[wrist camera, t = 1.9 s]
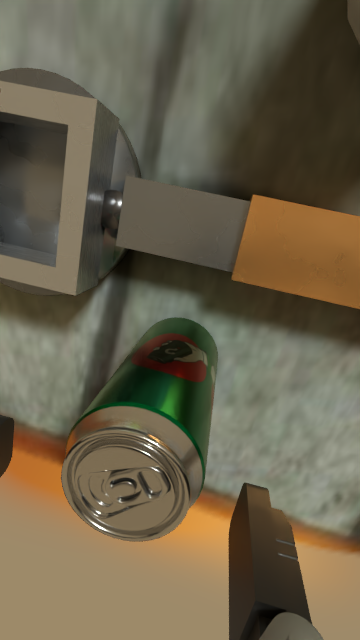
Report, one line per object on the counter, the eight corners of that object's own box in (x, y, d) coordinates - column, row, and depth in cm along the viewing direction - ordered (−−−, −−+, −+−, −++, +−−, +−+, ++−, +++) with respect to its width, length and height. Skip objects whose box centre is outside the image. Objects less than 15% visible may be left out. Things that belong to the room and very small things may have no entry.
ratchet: (467, 158, 17) (546, 137, 13) (376, 370, 21) (414, 409, 16) (-43, 62, 19) (-122, 16, 15) (-43, 268, 23) (-107, 278, 19)
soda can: (130, 330, 22) (22, 444, 11) (200, 303, 21) (162, 400, 10) (160, 395, 23) (91, 562, 12) (229, 373, 22) (226, 536, 11)
